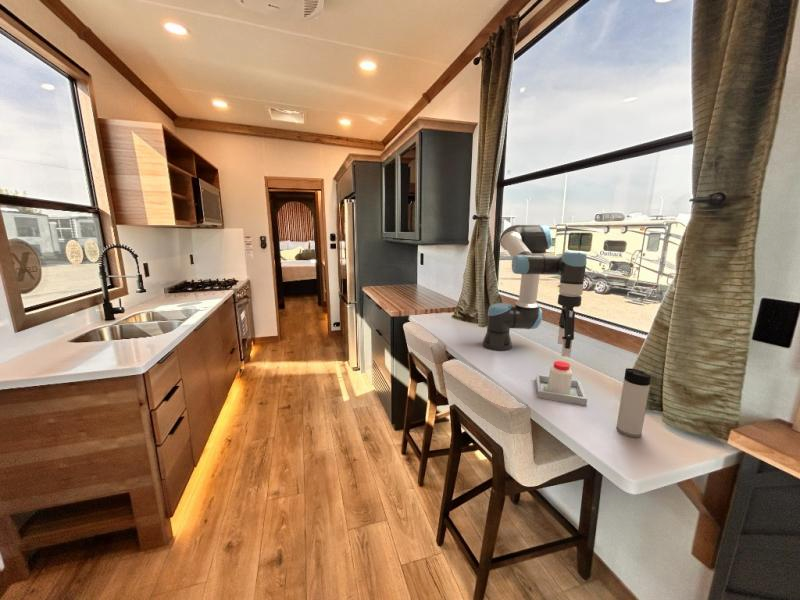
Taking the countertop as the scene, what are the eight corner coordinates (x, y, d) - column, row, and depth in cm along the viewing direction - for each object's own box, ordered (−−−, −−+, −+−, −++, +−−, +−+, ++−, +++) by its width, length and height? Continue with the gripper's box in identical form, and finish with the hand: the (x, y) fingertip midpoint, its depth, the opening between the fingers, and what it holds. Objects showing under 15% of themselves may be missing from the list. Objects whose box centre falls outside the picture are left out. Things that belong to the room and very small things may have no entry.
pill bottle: (572, 396, 118) (576, 368, 116) (550, 394, 119) (553, 366, 117) (566, 387, 125) (569, 360, 123) (545, 385, 127) (548, 359, 125)
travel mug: (610, 426, 100) (619, 366, 96) (629, 425, 101) (639, 366, 97) (625, 438, 94) (636, 375, 90) (646, 437, 95) (657, 374, 91)
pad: (542, 383, 129) (542, 382, 129) (572, 387, 126) (572, 386, 126) (544, 395, 119) (544, 394, 119) (577, 401, 115) (577, 399, 115)
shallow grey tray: (535, 379, 133) (536, 374, 132) (578, 386, 127) (579, 380, 127) (537, 397, 118) (538, 391, 117) (586, 405, 112) (587, 399, 112)
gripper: (555, 288, 128) (549, 338, 132) (562, 300, 105) (555, 360, 109) (576, 289, 125) (569, 340, 130) (588, 302, 102) (580, 363, 107)
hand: (563, 350), depth 119 cm, fingers open, 13 cm apart
